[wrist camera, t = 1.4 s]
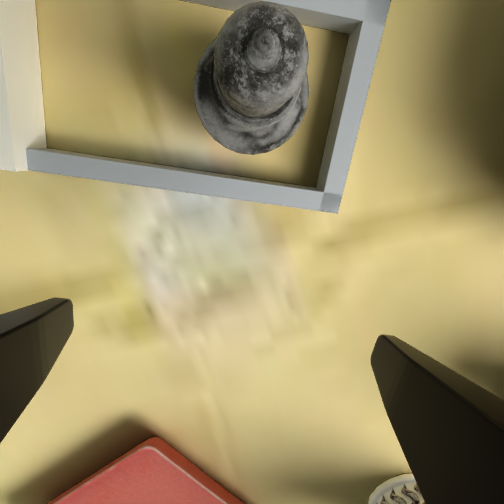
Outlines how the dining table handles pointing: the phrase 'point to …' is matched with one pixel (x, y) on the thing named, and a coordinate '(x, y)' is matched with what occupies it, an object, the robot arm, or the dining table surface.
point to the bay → (180, 179)
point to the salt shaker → (254, 79)
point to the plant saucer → (148, 480)
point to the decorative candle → (397, 491)
